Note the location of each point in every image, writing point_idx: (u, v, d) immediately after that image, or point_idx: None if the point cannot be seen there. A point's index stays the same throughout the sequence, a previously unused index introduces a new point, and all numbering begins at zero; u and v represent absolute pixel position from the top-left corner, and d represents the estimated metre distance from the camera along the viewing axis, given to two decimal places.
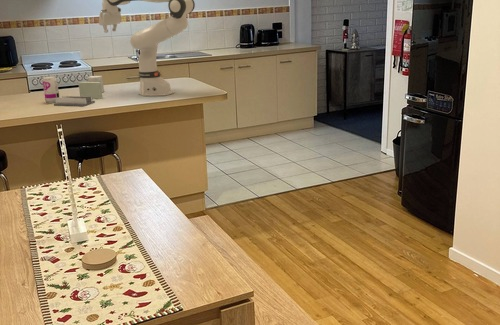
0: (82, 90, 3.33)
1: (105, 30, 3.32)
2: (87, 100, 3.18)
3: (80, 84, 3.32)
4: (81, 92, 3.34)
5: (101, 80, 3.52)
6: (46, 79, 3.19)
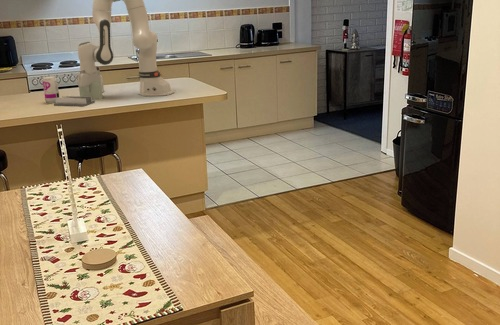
0: (82, 90, 3.33)
1: (87, 90, 3.30)
2: (87, 100, 3.18)
3: None
4: (81, 92, 3.34)
5: (101, 80, 3.52)
6: (46, 79, 3.19)
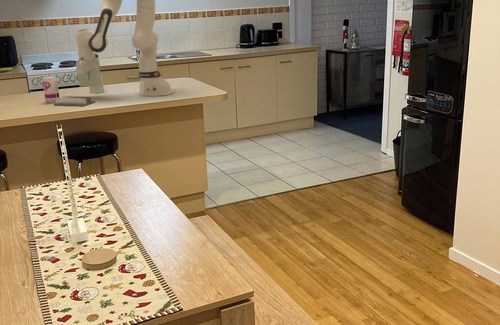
0: (81, 78, 3.31)
1: (86, 77, 3.28)
2: (87, 100, 3.18)
3: None
4: (80, 80, 3.32)
5: (101, 80, 3.52)
6: (46, 79, 3.19)
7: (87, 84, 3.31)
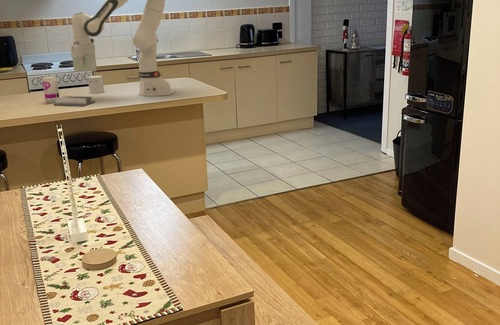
0: (75, 62, 3.26)
1: (81, 62, 3.23)
2: (87, 100, 3.18)
3: None
4: (75, 64, 3.26)
5: (101, 80, 3.52)
6: (46, 79, 3.19)
7: (82, 69, 3.26)
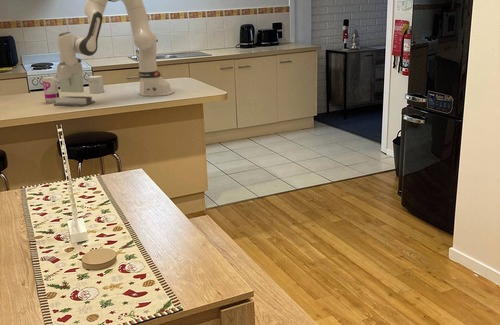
0: (62, 83, 3.15)
1: (68, 83, 3.12)
2: (87, 100, 3.18)
3: None
4: (61, 85, 3.15)
5: (101, 80, 3.52)
6: (46, 79, 3.19)
7: (68, 90, 3.15)
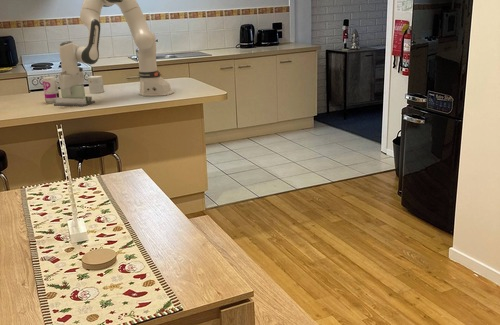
0: (64, 94, 3.17)
1: (68, 92, 3.12)
2: (87, 100, 3.18)
3: None
4: (63, 96, 3.17)
5: (101, 80, 3.52)
6: (46, 79, 3.19)
7: None
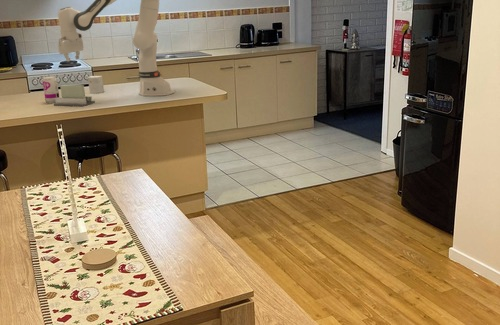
0: (64, 94, 3.17)
1: (67, 59, 3.12)
2: (87, 100, 3.18)
3: (62, 87, 3.16)
4: (63, 96, 3.17)
5: (101, 80, 3.52)
6: (46, 79, 3.19)
7: None
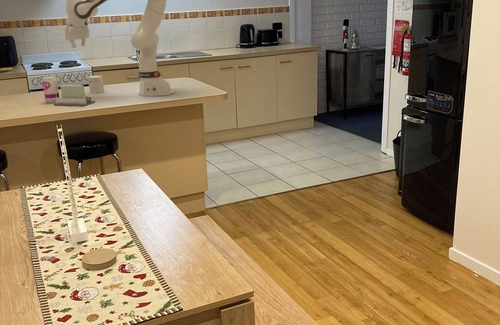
0: (64, 94, 3.17)
1: (73, 45, 3.25)
2: (87, 100, 3.18)
3: (62, 87, 3.16)
4: (63, 96, 3.17)
5: (101, 80, 3.52)
6: (46, 79, 3.19)
7: None
